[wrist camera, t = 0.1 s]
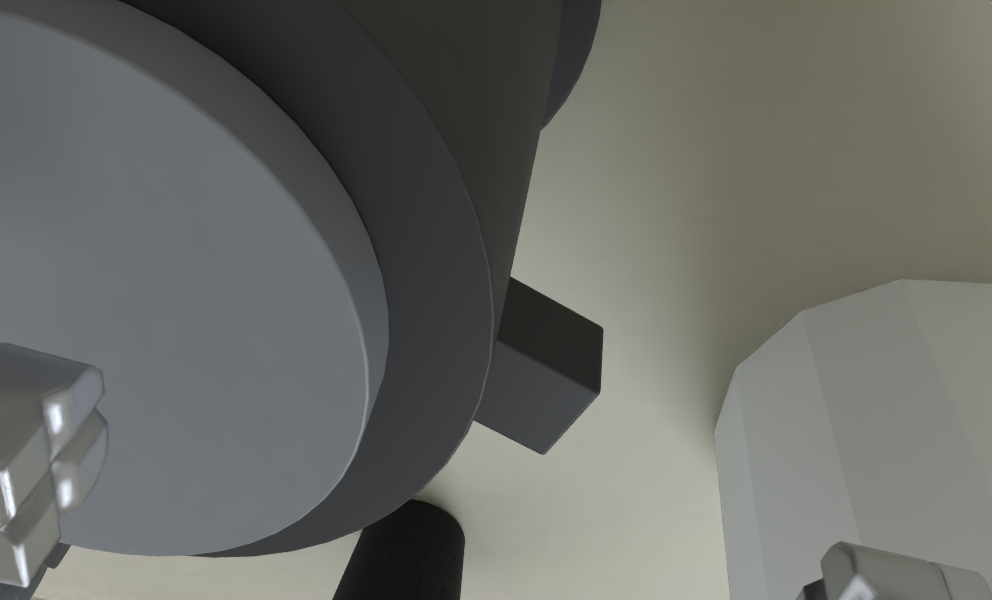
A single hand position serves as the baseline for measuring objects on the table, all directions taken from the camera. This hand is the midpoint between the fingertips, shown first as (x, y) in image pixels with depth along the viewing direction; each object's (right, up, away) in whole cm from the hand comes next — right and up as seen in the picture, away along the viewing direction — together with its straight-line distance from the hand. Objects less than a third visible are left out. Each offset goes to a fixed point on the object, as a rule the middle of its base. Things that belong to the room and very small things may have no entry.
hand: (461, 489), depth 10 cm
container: (+17, -3, +26) cm, 31 cm away
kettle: (-3, +11, +18) cm, 22 cm away
